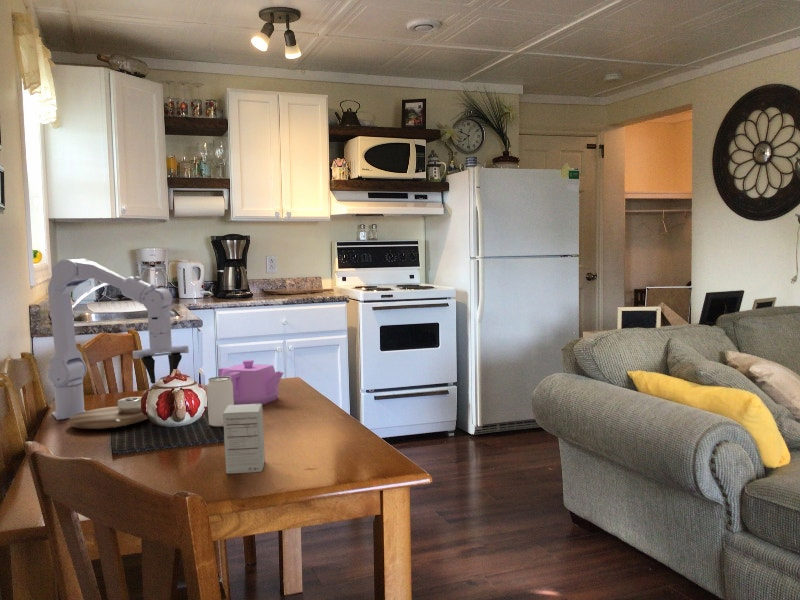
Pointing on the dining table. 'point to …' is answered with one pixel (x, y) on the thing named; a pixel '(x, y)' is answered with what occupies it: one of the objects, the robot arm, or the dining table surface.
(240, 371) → the teakettle
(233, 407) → the supplement box
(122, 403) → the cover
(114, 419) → the turntable
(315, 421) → the dining table surface
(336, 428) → the dining table surface
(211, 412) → the can
